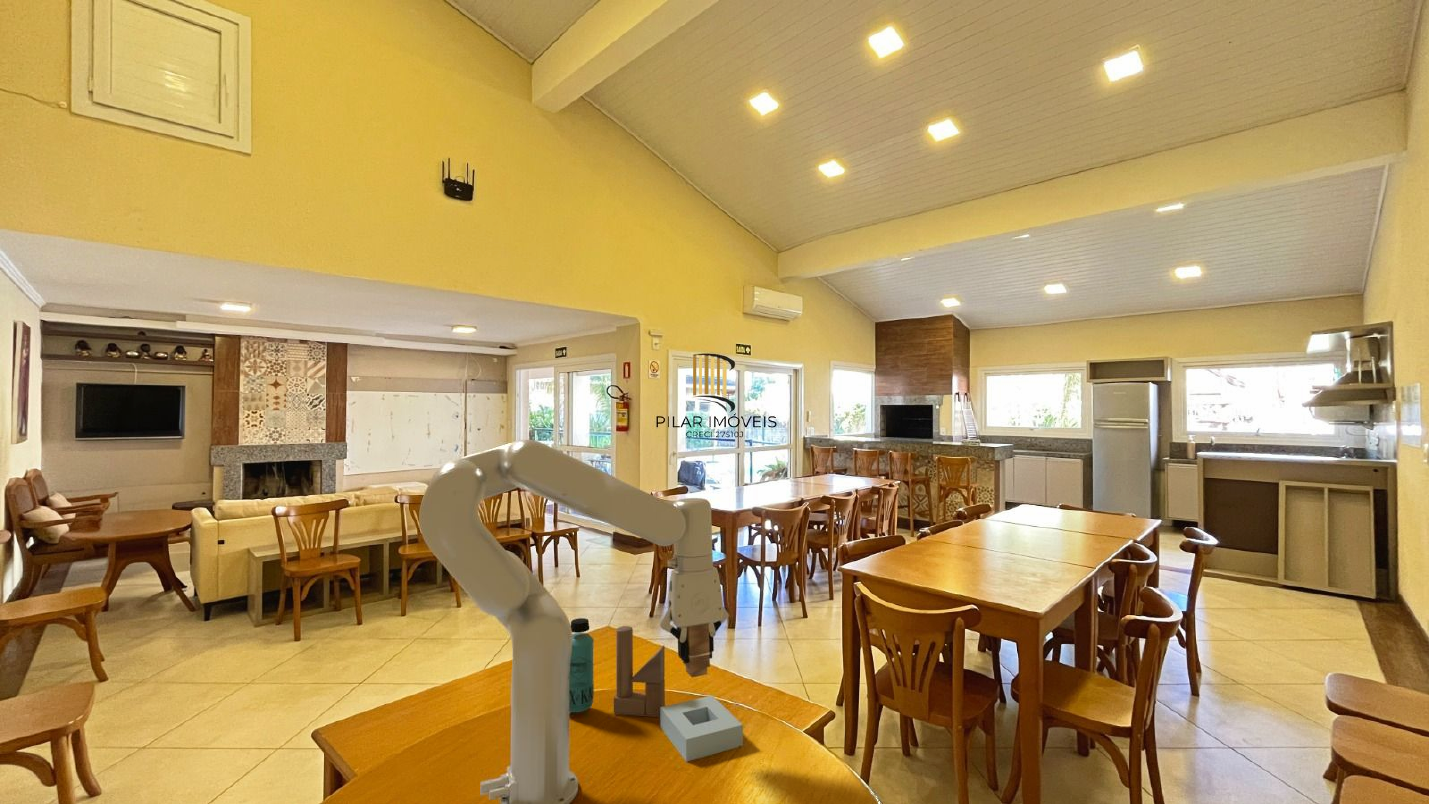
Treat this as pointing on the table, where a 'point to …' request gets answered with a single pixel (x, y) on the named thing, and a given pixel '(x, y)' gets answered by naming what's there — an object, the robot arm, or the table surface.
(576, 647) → the beverage bottle
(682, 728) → the grey square-hole block
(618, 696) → the wooden block structure
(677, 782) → the table surface
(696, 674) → the peg
